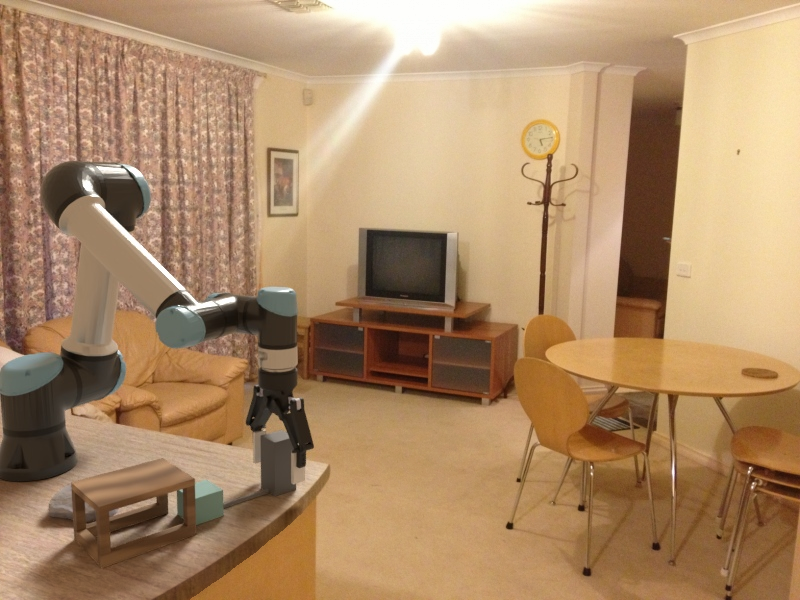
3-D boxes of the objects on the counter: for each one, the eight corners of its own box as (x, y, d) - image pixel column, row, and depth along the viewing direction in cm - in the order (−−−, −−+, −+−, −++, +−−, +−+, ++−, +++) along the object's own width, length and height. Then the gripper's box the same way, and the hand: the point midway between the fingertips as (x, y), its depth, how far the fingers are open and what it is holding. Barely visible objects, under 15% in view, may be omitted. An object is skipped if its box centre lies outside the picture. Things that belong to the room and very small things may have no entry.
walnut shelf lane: (74, 539, 116) (71, 482, 115) (164, 510, 127) (162, 457, 126) (102, 568, 108) (98, 506, 106) (196, 534, 119) (194, 478, 117)
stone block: (112, 531, 123) (128, 496, 133) (108, 509, 121) (125, 475, 131) (43, 534, 122) (65, 498, 132) (38, 511, 121) (61, 477, 130)
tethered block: (177, 514, 126) (175, 457, 124) (280, 480, 141) (280, 429, 140) (193, 526, 122) (191, 467, 120) (297, 489, 137) (297, 437, 135)
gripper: (227, 357, 140) (229, 457, 143) (299, 384, 122) (299, 497, 126) (259, 352, 145) (260, 449, 148) (333, 377, 127) (332, 486, 131)
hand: (278, 471), depth 137 cm, fingers open, 13 cm apart
